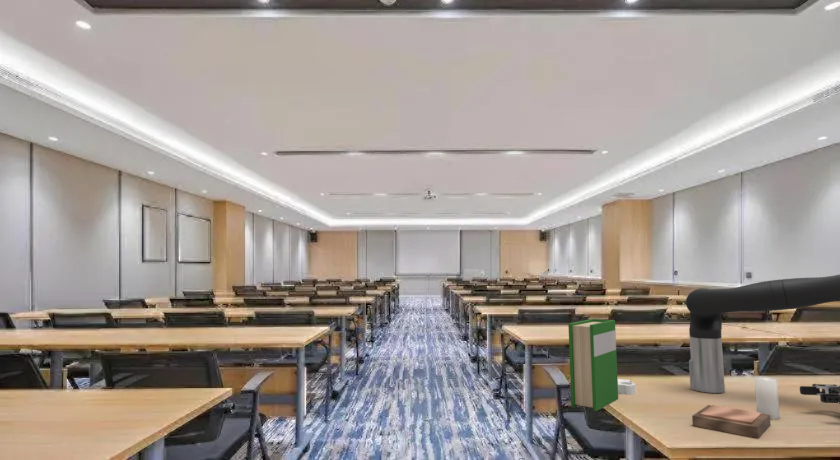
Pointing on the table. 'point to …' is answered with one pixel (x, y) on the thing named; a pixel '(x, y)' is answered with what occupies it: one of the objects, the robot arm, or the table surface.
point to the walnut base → (732, 420)
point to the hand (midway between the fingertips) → (810, 394)
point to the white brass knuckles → (626, 387)
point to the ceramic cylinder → (767, 396)
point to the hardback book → (593, 363)
